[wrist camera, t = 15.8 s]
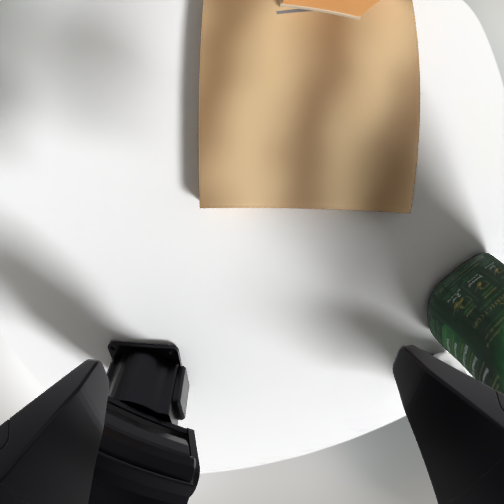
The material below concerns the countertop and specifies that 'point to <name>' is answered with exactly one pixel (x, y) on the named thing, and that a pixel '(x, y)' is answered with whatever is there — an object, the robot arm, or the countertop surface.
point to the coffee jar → (472, 318)
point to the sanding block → (333, 6)
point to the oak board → (308, 107)
